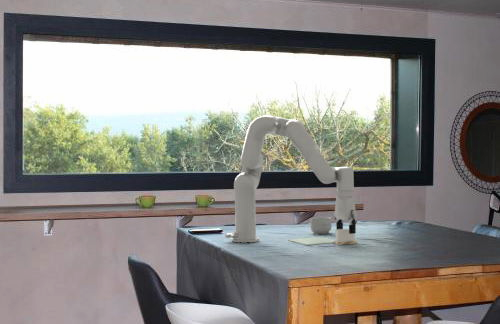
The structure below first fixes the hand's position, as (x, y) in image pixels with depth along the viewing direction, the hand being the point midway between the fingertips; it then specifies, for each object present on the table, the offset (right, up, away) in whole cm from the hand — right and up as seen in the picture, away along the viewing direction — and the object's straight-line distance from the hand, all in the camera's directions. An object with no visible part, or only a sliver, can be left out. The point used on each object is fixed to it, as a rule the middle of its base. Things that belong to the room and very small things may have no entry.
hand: (346, 232), depth 302 cm
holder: (0, -5, 0) cm, 5 cm away
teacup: (-7, -4, +35) cm, 36 cm away
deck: (0, -5, 0) cm, 5 cm away
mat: (-14, -5, +7) cm, 16 cm away
